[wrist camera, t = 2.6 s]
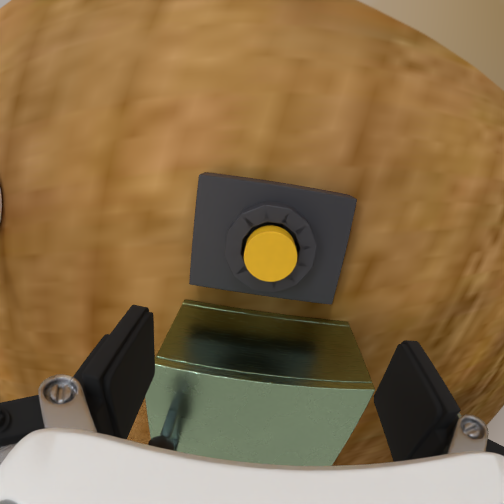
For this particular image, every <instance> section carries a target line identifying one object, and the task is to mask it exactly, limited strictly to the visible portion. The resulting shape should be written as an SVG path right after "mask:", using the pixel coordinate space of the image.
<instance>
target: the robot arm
mask: <svg viewBox="0 0 504 504" xmlns="http://www.w3.org/2000/svg"><path fill="white" fill-rule="evenodd" d="M1 212H2V198H1V189H0V221H1ZM154 374H155V354H154V321H153V313H151V312H149V309H148V308H147V307H142V306H137V305H132V306H131V307H130V309H129V310H128V311H127V313H126V314H125V315H124V317H123V318H122V319H121V320H120V322H119V323H118V324H117V326H116V327H115V328H114V330H113V331H112V332H111V334H110V335H109V334H106V335H105V336H104V337H103V338H102V339H101V340H100V342H99V343H98V344H97V346H96V347H95V348H94V349H93V351H92V352H91V353H90V355H89V356H88V357H87V359H86V360H85V362H84V363H83V364H82V366H81V367H80V368H79V370H78V371H77V372H76V374H75V375H74V377H71V376H68V375H54V376H51V377H49V378H47V379H45V380H44V381H43V382H42V383H41V385H40V387H39V395H36V396H31V397H27V398H22V399H17V400H12V401H7V402H2V403H0V504H504V447H503V446H501V445H499V444H497V443H495V442H493V441H491V440H489V439H488V428H487V426H486V424H485V423H484V422H483V421H482V420H481V419H480V418H478V417H476V416H474V415H467V414H466V415H463V416H461V417H460V418H459V417H458V413H459V412H460V408H459V407H458V405H457V403H456V401H455V400H454V398H453V396H452V395H451V393H450V391H449V390H448V388H447V386H446V385H445V383H444V381H443V380H442V378H441V377H440V375H439V373H438V372H437V370H436V369H435V367H434V365H433V364H432V362H431V361H430V359H429V358H428V356H427V355H426V353H425V352H424V350H423V348H422V347H421V345H420V344H419V343H418V342H417V341H403V342H402V343H401V344H399V345H398V346H397V348H396V350H395V352H394V355H393V357H392V359H391V361H390V364H389V366H388V368H387V370H386V372H385V374H384V376H383V378H382V381H381V383H380V385H379V387H378V389H377V391H376V393H375V395H374V403H375V406H376V409H377V412H378V415H379V418H380V421H381V424H382V427H383V430H384V433H385V436H386V439H387V442H388V445H389V448H390V451H391V454H392V458H393V461H394V462H389V463H378V464H365V465H346V466H292V465H273V464H260V463H249V462H240V461H232V460H224V459H217V458H211V457H205V456H199V455H193V454H188V453H183V452H178V451H173V450H168V449H163V448H159V447H155V446H150V445H146V444H142V443H138V442H134V441H131V440H126V439H127V437H128V435H129V432H130V430H131V428H132V425H133V423H134V421H135V418H136V416H137V414H138V412H139V409H140V407H141V405H142V402H143V400H144V398H145V396H146V393H147V391H148V389H149V387H150V384H151V382H152V380H153V378H154Z"/></svg>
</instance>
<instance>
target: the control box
mask: <svg viewBox="0 0 504 504" xmlns="http://www.w3.org/2000/svg"><path fill="white" fill-rule="evenodd" d="M356 202H357V199H355V198H354V197H352V196H350V195H347V194H342V193H337V192H331V191H326V190H321V189H315V188H309V187H304V186H298V185H292V184H286V183H280V182H273V181H267V180H260V179H253V178H246V177H239V176H231V175H223V174H215V173H207V172H205V173H202V174H200V175H199V181H198V190H197V199H196V209H195V220H194V231H193V242H192V255H191V268H190V283H189V284H191V285H197V286H203V287H210V288H216V289H222V290H229V291H235V292H242V293H249V294H255V295H262V296H270V297H277V298H284V299H291V300H299V301H307V302H315V303H323V304H332V302H333V298H334V294H335V291H336V287H337V283H338V279H339V275H340V272H341V268H342V264H343V260H344V256H345V251H346V247H347V243H348V239H349V234H350V230H351V225H352V221H353V216H354V211H355V207H356ZM267 225H274V226H278V227H281V228H283V229H285V230H286V231H287V232H288V233H289V234H290V235H291V236H292V238H293V240H294V243H295V247H296V250H297V263H296V266H295V268H294V269H293V271H292V272H291V273H290V274H289V275H288V276H287V277H285V278H284V279H281V280H279V281H274V282H267V281H262V280H260V279H257V278H256V277H254V276H253V275H252V274H251V273H250V272H249V271H248V269H247V267H246V265H245V262H244V251H245V247H246V242H247V240H248V238H249V236H250V235H251V234H252V232H254V231H255V230H256V229H258V228H260V227H262V226H267Z"/></svg>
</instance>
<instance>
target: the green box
mask: <svg viewBox="0 0 504 504" xmlns="http://www.w3.org/2000/svg"><path fill="white" fill-rule="evenodd" d="M156 357H157V358H162V359H167V360H171V361H176V362H181V363H187V364H192V365H197V366H203V367H209V368H214V369H221V370H227V371H234V372H241V373H248V374H255V375H263V376H272V377H281V378H291V379H302V380H315V381H331V382H351V383H372V381H371V378H370V376H369V373H368V370H367V368H366V365H365V363H364V360H363V358H362V355H361V353H360V350H359V348H358V345H357V343H356V340H355V338H354V335H353V333H352V330H351V328H350V326H349V323H348V322H344V321H335V320H326V319H317V318H308V317H300V316H292V315H284V314H276V313H269V312H262V311H255V310H248V309H241V308H234V307H228V306H221V305H215V304H209V303H203V302H197V301H191V300H184V302H183V304H182V306H181V308H180V310H179V312H178V314H177V316H176V318H175V320H174V322H173V324H172V326H171V328H170V330H169V332H168V334H167V336H166V338H165V340H164V342H163V344H162V346H161V348H160V350H159V352H158V354H157V356H156Z"/></svg>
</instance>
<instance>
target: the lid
mask: <svg viewBox="0 0 504 504" xmlns="http://www.w3.org/2000/svg"><path fill="white" fill-rule="evenodd" d="M374 391H375V389H374V386H373V383H351V382H331V381H315V380H302V379H291V378H281V377H272V376H263V375H255V374H248V373H241V372H234V371H227V370H221V369H214V368H209V367H203V366H197V365H192V364H187V363H181V362H176V361H171V360H167V359H162V358H157V357H155V374H154V378H153V380H152V382H151V384H150V387H149V389H148V391H147V393H146V396H145V399H146V407H147V415H148V422H149V429H150V436H151V440H150V441H149V443H148V445H150V446H155V447H159V448H163V449H168V450H173V451H178V452H183V453H188V454H193V455H199V456H205V457H211V458H217V459H224V460H232V461H240V462H249V463H260V464H273V465H292V466H332V464H333V463H334V461H335V460H336V458H337V456H338V455H339V453H340V452H341V450H342V448H343V447H344V445H345V443H346V442H347V440H348V438H349V437H350V435H351V433H352V432H353V430H354V428H355V426H356V425H357V423H358V421H359V419H360V417H361V416H362V414H363V412H364V410H365V408H366V406H367V404H368V403H369V401H370V399H371V397H372V395H373V393H374Z"/></svg>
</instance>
